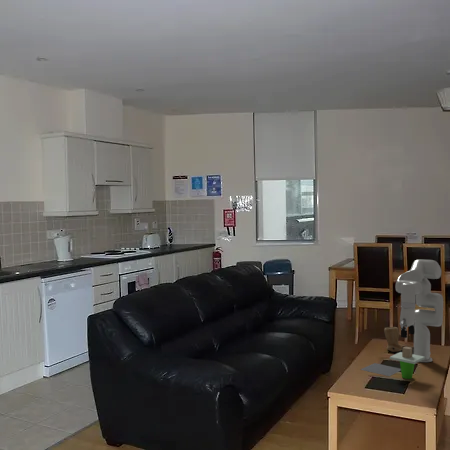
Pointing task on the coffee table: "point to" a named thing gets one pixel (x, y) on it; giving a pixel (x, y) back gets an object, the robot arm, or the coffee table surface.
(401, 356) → the lid
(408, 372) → the cup
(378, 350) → the coffee table surface
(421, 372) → the coffee table surface
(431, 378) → the coffee table surface
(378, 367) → the mat
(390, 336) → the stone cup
